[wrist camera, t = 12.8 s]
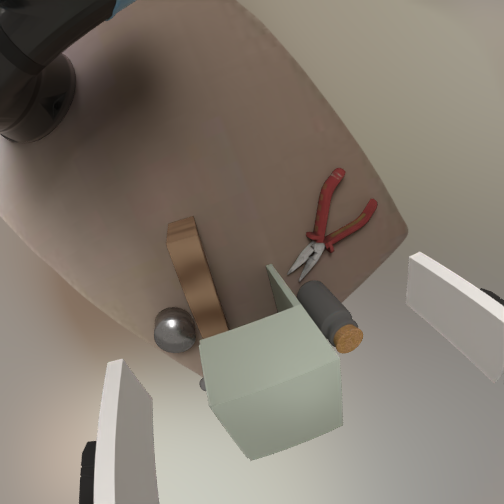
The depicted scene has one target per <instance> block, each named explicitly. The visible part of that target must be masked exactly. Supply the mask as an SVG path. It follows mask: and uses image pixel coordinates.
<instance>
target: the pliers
mask: <svg viewBox="0 0 504 504" xmlns="http://www.w3.org/2000/svg"><path fill="white" fill-rule="evenodd" d="M344 175H345V171H344V170H343V169H341V168H337V169H335V170H334V171H333V172H332V174H331V175H330V176H329V178H328V179H327V180H326V182H325V183H324V185H323V187H322V189H321V192H320V196H319V202H318V208H317V214H316V220H315V226H314V232H307V233H306V236H307V237H309V238H310V239H313V240H312V242H311V243H310V244H309V245H308V246H307V247H306V248H305V249H304V250H303V251H302V252H301V254H300V255H299V257H298V258H297V260H296V261H295V263H294V264H293V266H292V267H291V269H290V270H289V272H288V273H287V275H289V274H290V273H291V272H293V271H294V270H295V269H296V268H298V267H299V266H300V265H301V264H303V263H304V262H305V261H306V260H307V259H308V260H307V262H306V264H305V267H304V269H303V272H302V274H301V276H300V279H299V282H300V281H301V280H302V279H303V278H304V277H305V275H306V274H307V273H308V272H309V271H310V270H311V268H312V267H313V266H314V265H315V264H316V262H317V261H318V259H319V258H320V256H321V254H322V252H323V250H324V248H326V250H327V251H329V252H330V253H332V252H333V251H334V248H333V244H335V243H336V242H338V241H340V240H341V239H343V238H345V237H347V236H348V235H350V234H352V233H353V232H355V231H357V230H358V229H360V228H361V227H363V226H364V225H365V224H366V223H367V222H368V221H369V219H370V218H371V216H372V215H373V213H374V211H375V210H376V208H377V201H376V200H374V199H371V200H370V201H369V203H368V204H367V206H366V207H365V209H364V211H363V212H362V213H361V215H360V216H359V217H358V218H357V219H355V220H354V221H353V222H351V223H349V224H347V225H346V226H344V227H342V228H340V229H338V230H337V231H335V232H333V233H331V234H330V235H328V236H326V237H325V236H324V235H325V230H326V224H327V219H328V213H329V207H330V201H331V197H332V194H333V192H334V189H335V188H336V186H337V185H338V184H339V182H340V181H341V179H342V178H343V177H344ZM313 252H314V255H313V256H310V255H311V254H312V253H313Z"/></svg>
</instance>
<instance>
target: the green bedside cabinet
mask: <svg viewBox="0 0 504 504" xmlns="http://www.w3.org/2000/svg"><path fill="white" fill-rule="evenodd" d="M266 268H267V272H268V276H269V280H270V284H271V287H272V291H273V295H274V299H275V303H276V306H277V310H278V313H276V314H274V315H271V316H268V317H266V318H263V319H260V320H257V321H255V322H252V323H249V324H246V325H243V326H241V327H238V328H235V329H232V330H229V331H226V332H223V333H220V334H217V335H214V336H211V337H208V338H205V339H202V340H199V341H200V345H199V350H200V357H201V363H202V369H203V375H204V378H202V379H201V380H200V387H201V389H202V390H204V391H207V397H208V402H209V407H210V408H211V410H212V411H213V412H214V414H215V415H216V417H217V418H218V420H219V421H220V422H221V424H222V425H223V427H224V428H225V429H226V431H227V432H228V433H229V435H230V436H231V437H232V439H233V440H234V441H235V443H236V444H237V445H238V447H239V448H240V449H241V451H242V452H243V453H244V454H245V455H246V457H247V458H249V459H250V460H255V459H258V458H262V457H265V456H268V455H271V454H274V453H277V452H280V451H282V450H285V449H288V448H291V447H293V446H296V445H298V444H301V443H304V442H306V441H309V440H311V439H314V438H316V437H318V436H321V435H323V434H325V433H328V432H330V431H332V430H334V429H336V428H338V427H340V426H342V425H343V412H342V385H341V368H340V357H339V356H338V355H337V353H336V352H335V350H334V349H333V348H332V346H331V345H330V343H329V342H328V341H327V339H326V338H325V337H324V335H323V334H322V332H321V331H320V330H319V328H318V327H317V326H316V324H315V323H314V321H313V320H312V319H311V317H310V316H309V315H308V313H307V312H306V310H305V309H304V308H303V306H302V305H301V304H300V302H299V301H298V299H297V298H296V297H295V295H294V294H293V293H292V291H291V290H290V289H289V287H288V286H287V284H286V283H285V282H284V280H283V279H282V278H281V276H280V275H279V274H278V272H277V271H276V269H275V268H274V267H273V265H272V264H269V265H266Z"/></svg>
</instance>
